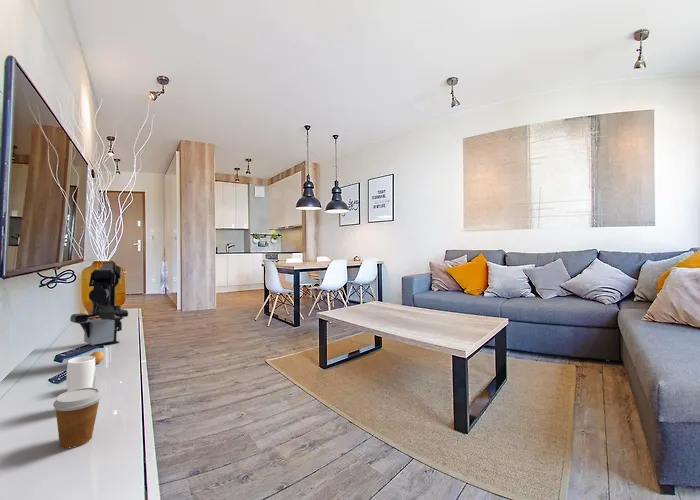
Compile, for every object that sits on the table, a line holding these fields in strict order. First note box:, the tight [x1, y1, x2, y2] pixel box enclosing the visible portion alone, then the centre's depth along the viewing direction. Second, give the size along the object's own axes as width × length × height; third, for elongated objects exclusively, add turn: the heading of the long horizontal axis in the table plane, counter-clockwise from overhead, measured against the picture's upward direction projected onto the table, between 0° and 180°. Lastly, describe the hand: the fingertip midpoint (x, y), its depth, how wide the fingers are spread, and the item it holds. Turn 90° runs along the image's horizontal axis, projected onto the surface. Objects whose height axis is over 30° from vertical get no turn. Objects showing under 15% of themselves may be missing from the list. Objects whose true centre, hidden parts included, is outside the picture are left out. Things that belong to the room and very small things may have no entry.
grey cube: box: [83, 318, 115, 346], centre depth 135 cm, size 8×8×9 cm
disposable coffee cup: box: [52, 387, 103, 449], centre depth 82 cm, size 10×10×12 cm
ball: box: [89, 351, 105, 365], centre depth 136 cm, size 5×5×5 cm
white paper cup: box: [66, 355, 96, 392], centre depth 98 cm, size 7×7×15 cm
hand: (99, 335), depth 135 cm, fingers closed on grey cube, 8 cm apart
